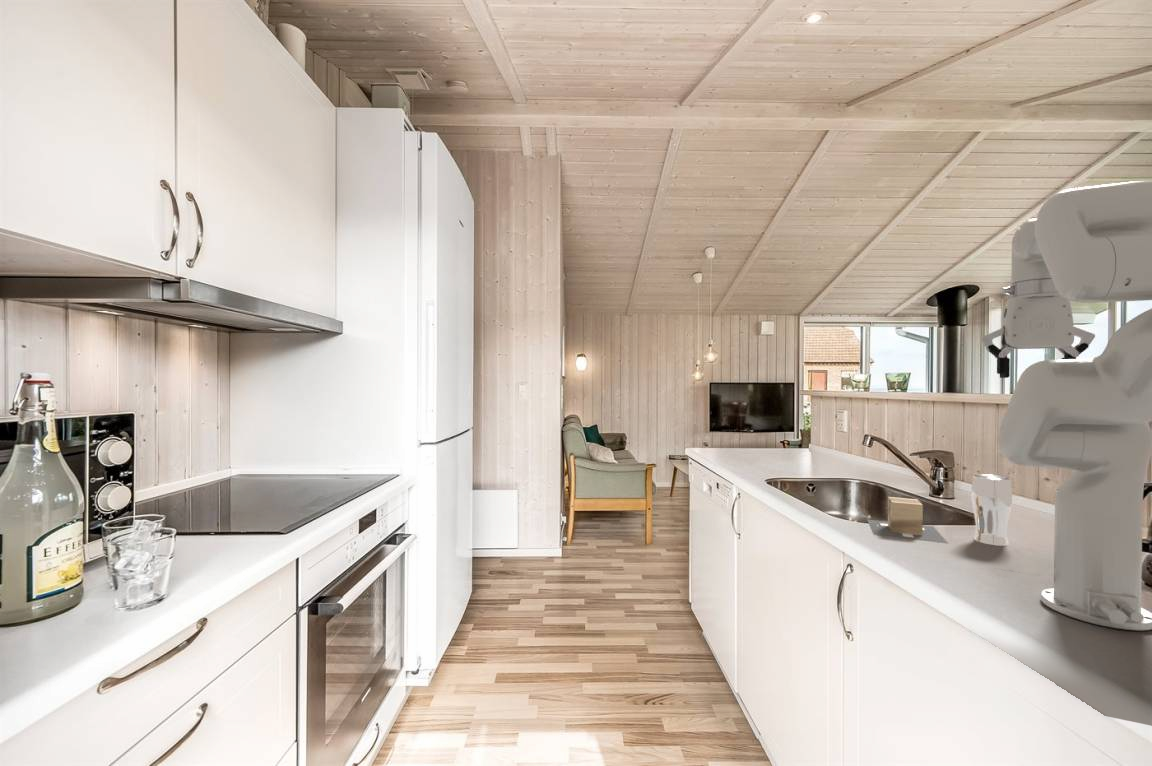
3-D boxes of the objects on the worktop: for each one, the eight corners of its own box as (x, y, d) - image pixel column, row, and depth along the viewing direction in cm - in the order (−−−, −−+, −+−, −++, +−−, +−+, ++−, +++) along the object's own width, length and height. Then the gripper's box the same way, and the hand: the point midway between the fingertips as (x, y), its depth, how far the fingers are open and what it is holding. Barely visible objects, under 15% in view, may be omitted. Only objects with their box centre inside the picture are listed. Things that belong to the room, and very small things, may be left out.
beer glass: (1019, 551, 108) (1020, 480, 107) (982, 548, 109) (982, 479, 109) (999, 541, 114) (1000, 474, 114) (964, 538, 116) (965, 473, 116)
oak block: (922, 535, 115) (922, 504, 115) (891, 532, 118) (891, 502, 118) (917, 528, 121) (917, 499, 121) (887, 525, 123) (888, 496, 123)
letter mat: (948, 547, 110) (948, 543, 110) (873, 538, 116) (873, 534, 116) (933, 529, 123) (933, 526, 123) (867, 522, 128) (867, 519, 128)
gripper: (987, 291, 101) (986, 377, 101) (1104, 285, 93) (1103, 378, 94) (976, 297, 107) (975, 377, 108) (1084, 291, 100) (1083, 378, 100)
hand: (1035, 377), depth 101 cm, fingers open, 9 cm apart
